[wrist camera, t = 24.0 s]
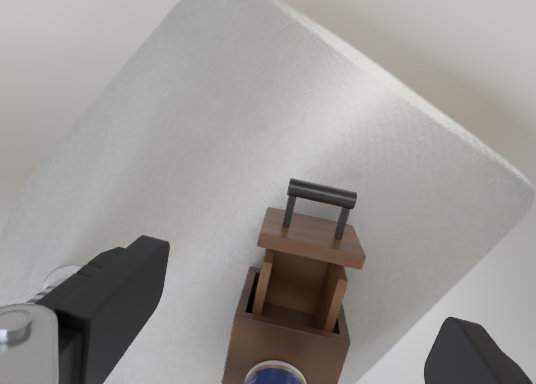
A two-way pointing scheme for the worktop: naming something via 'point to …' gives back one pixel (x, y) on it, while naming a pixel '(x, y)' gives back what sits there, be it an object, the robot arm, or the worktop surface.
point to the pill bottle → (274, 374)
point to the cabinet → (282, 343)
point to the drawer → (306, 259)
